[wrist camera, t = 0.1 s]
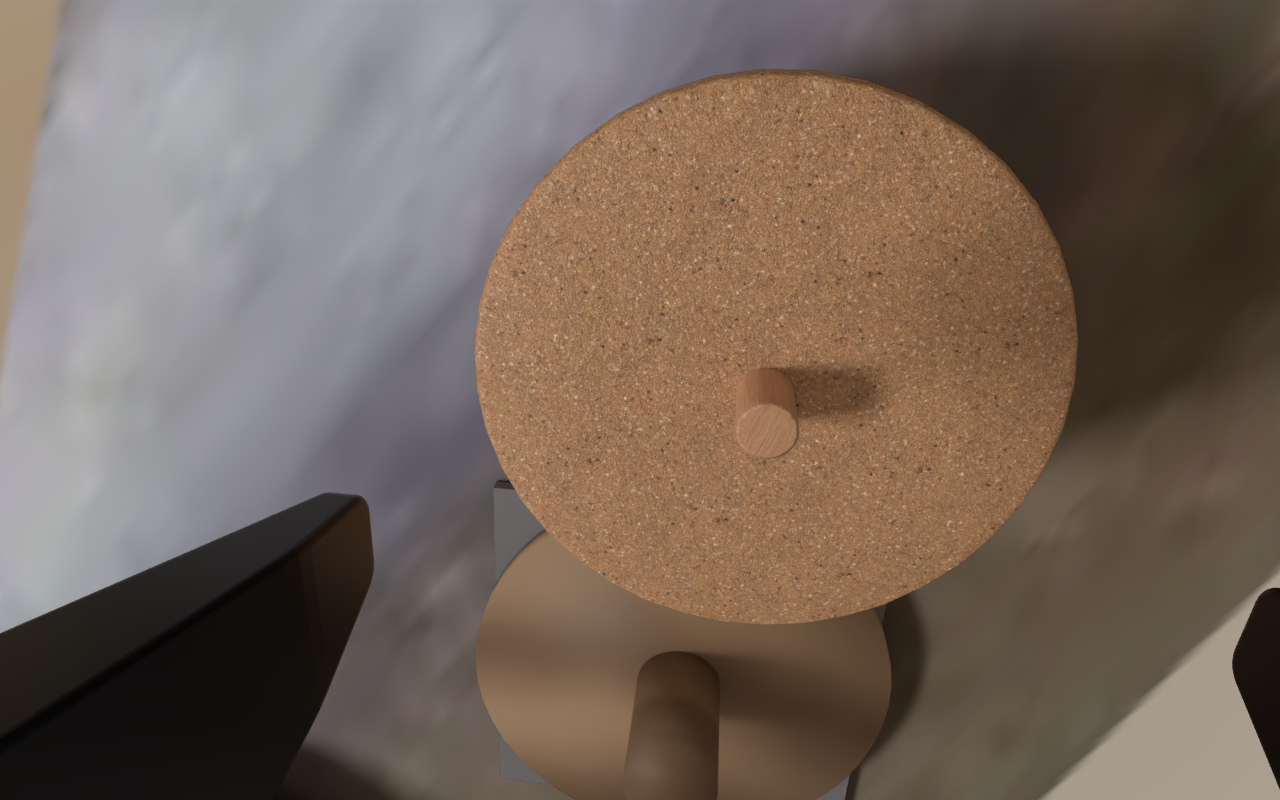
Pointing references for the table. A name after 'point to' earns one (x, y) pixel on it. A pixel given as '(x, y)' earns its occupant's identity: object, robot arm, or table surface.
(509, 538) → the mat
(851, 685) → the lid
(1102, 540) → the table surface
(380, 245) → the table surface
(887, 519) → the lidded jar
